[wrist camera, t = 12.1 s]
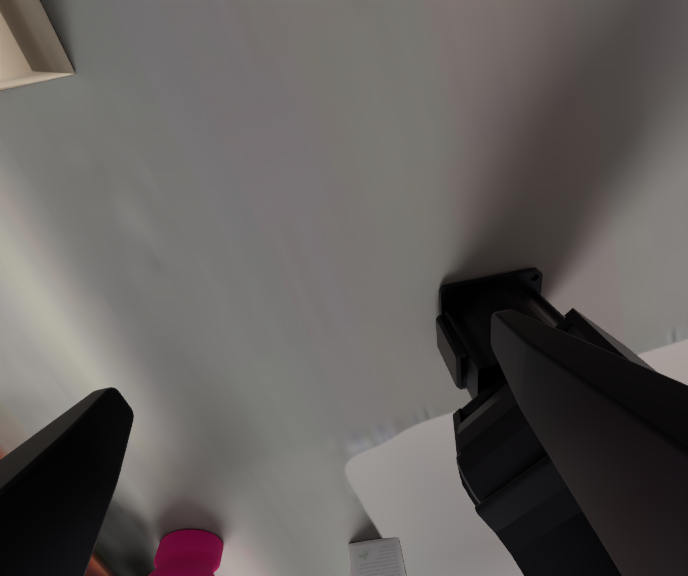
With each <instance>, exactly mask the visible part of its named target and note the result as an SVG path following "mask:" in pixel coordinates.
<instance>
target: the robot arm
mask: <svg viewBox="0 0 688 576" xmlns="http://www.w3.org/2000/svg"><path fill="white" fill-rule="evenodd" d="M534 274H535V276H534V277H533V278H531V276H532V275H534ZM541 285H542V273H541V271H539V270H538V269H537V268H529V269H524V270H519V271H513V272H508V273H503V274H498V275H493V276H488V277H483V278H478V279H473V280H467V281H462V282H457V283H452V284H447V285H444V286H442V287H441V288H440V290H439V303H440V315H439V316H438V317H437V318H436V331H437V346H438V349H439V351H440V353H441V355H442V357H443V359H444V361H445V364H446V366H447V368H448V370H449V372H450V374H451V376H452V378H453V381H454V383H455V385H456V387H458V388H459V389H466V388H467V390H468V392H469V394H470V396H471V398H472V400H471V401H470V402H469V403H468V404H467V405H466V406H465V407H463V408H462V409H458V410H457V411H456V412H455V413H454V414H453V422H454V431H455V440H456V451H457V457H456V458H457V465H458V469H459V474H460V478H461V480H462V485H463V487H464V488H465V490H466V491H467V493H468V495H469V497H470V498H471V500H472V501H473V503H474V504H475V506H476V507H475V509H476V512H477V514H478V515H479V516H480V517H481V518H482V519H483V520H484V521H485V522H486V524H487V525H488V526H489V527H490V528H491V529H492V530H493V531H494V532H495V533H496V535H497V536H498V537H499V539H500V540H501V541H502V543H503V544H504V545H505V547H506V548H507V550H508V551H509V552H510V553H511V555H512V556H513V558H514V560H515V561H516V563H517V565H518V566H519V568H520V569H521V571H522V573H523V574H524V576H688V385H685V384H683V383H681V382H678V381H676V380H674V379H671V378H669V377H667V376H664V375H662V374H660V373H658V372H656V371H655V370H654V369H653V368H652V367H650V366H649V365H648V364H647V363H645V362H644V361H643V360H642V359H641V358H639V357H638V356H637V355H636V354H634V353H633V352H632V351H631V350H630V349H628V348H627V347H626V346H625V345H623V344H622V343H620V342H619V341H618V340H616V339H615V338H614V337H612V336H611V335H609V334H608V333H607V332H605V331H604V330H603V329H601V328H600V327H598V326H597V325H596V324H594V323H593V322H592V321H590V320H589V319H587V318H586V317H585V316H583V315H582V314H581V313H579V312H578V311H576V310H575V309H574V308H572V309H571V310H570V311H569V312H568V313H567V314H566V315H564V316H565V317H564V316H563V315H562V314H561V313H560V312H559V311H558V310H556V309H555V308H554V307H553V306H552V305H551V304H550V303H549V302H548V301H547V300H546V299H545V298H543V297H542V296H541V295H540V294H541ZM447 291H450V293H449V294H447V295H445V293H446V292H447ZM133 417H134V415H133V411H132V409H131V407H130V406H129V405H128V403H127V402H126V400H125V399H124V398H123V396H122V395H121V393H120V392H119V391H118V390H117V389H115V388H112V387H110V388H105V389H100V390H96V391H94V392H92V393H91V394H89V395H88V396H87V397H85V398H84V399H83V400H81V401H80V402H79V403H77V404H76V405H74V406H73V407H72V408H70V409H69V410H68V411H66V412H65V413H64V414H62V415H61V416H59V417H58V418H57V419H55V420H54V421H53V422H51V423H50V424H49V425H47V426H46V427H44V428H43V429H42V430H40V431H39V432H38V433H36V434H35V435H33V436H32V437H31V438H29V439H28V440H27V441H25V442H24V443H23V444H21V445H20V446H18V447H17V448H16V449H14V450H13V451H12V452H10V453H9V454H8V455H6V456H5V457H3V458H2V459H1V460H0V576H85V573H86V570H87V567H88V564H89V562H90V559H91V556H92V553H93V550H94V548H95V545H96V542H97V539H98V536H99V534H100V531H101V528H102V525H103V522H104V520H105V517H106V514H107V511H108V508H109V505H110V503H111V500H112V497H113V494H114V491H115V488H116V485H117V482H118V478H119V475H120V471H121V467H122V463H123V459H124V455H125V451H126V447H127V443H128V439H129V435H130V431H131V427H132V423H133Z"/></svg>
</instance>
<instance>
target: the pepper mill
mask: <svg viewBox="0 0 688 576" xmlns="http://www.w3.org/2000/svg"><path fill="white" fill-rule="evenodd" d="M222 552H223V543H222V541H221V540H220V538H218V537H217V536H216V535H214V534H212V533H209V532H206V531H203V530H195V529H187V530H178V531H175V532H172V533H170V534H168V535H166V536H165V537H164V538H163V539H162V540H161V541H160V544H159V547H158V550H157V553H156V555H155V558H154V566H155V567H156V570H154V571H153V572H152V573H151V574H150V575H148V576H214V574H213V573H214V572H215V571H216V570H217V569H218V568H219V566H220V562H221V557H222Z"/></svg>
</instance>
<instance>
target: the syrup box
mask: <svg viewBox="0 0 688 576" xmlns="http://www.w3.org/2000/svg"><path fill="white" fill-rule="evenodd" d="M348 549H349V563H350V576H406V571H405V566H404V560H403V555H402V551H401V546H400V541H399V539H398V538H383V539H375V540H369V541H362V542H356V543H350V544H349V547H348Z"/></svg>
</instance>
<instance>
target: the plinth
mask: <svg viewBox="0 0 688 576" xmlns="http://www.w3.org/2000/svg"><path fill="white" fill-rule="evenodd" d="M72 74H75V72H74V69H73V67H72V65H71V63H70V61H69V59H68V57H67V55H66V53H65V51H64V49H63V47H62V45H61V43H60V41H59V39H58V37H57V35H56V33H55V31H54V29H53V27H52V25H51V22H50V20H49V18H48V16H47V14H46V12H45V10H44V8H43V6H42V4H41V2H40V0H0V90H5V89H9V88H14V87H18V86H23V85H27V84H32V83H36V82H41V81H45V80H50V79H54V78H59V77H63V76H68V75H72Z"/></svg>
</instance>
